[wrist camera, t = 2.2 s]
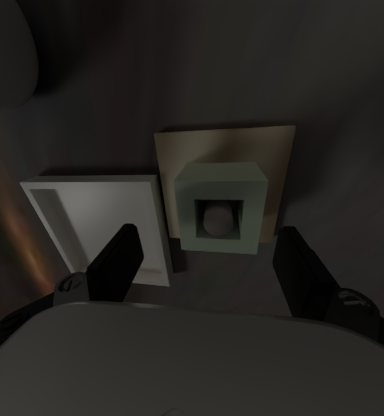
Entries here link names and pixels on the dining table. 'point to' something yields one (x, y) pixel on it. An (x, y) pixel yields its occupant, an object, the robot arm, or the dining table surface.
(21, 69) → the teacup
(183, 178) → the green hollow square block
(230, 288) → the dining table surface
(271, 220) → the wooden peg base
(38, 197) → the tray
